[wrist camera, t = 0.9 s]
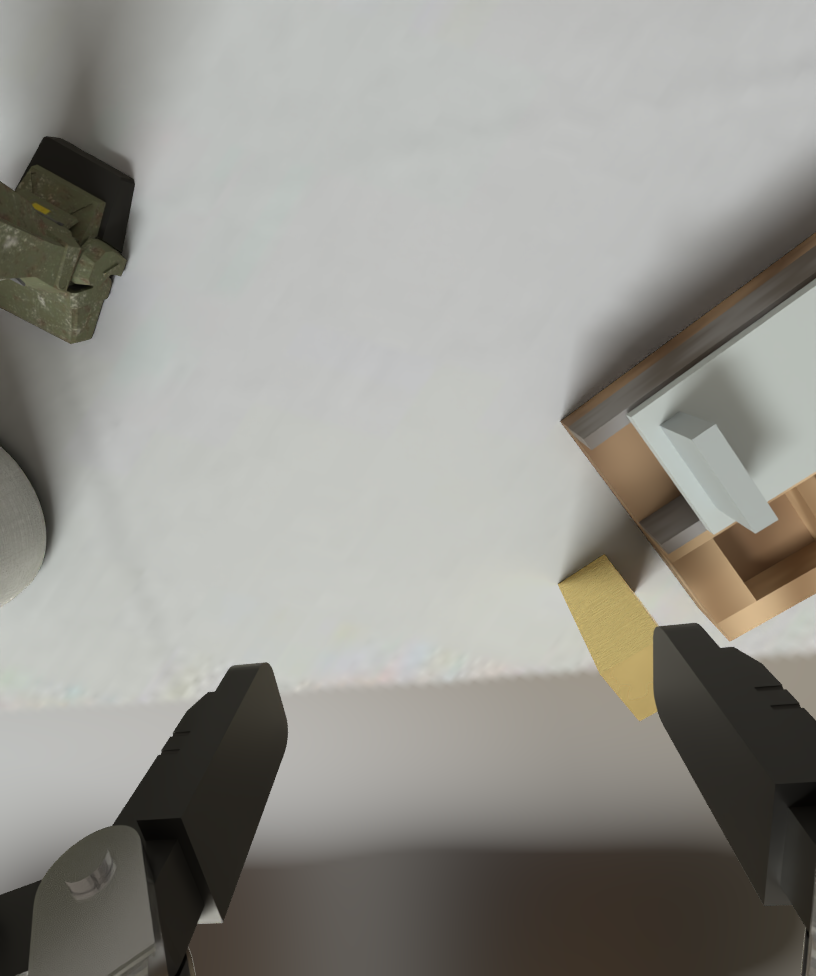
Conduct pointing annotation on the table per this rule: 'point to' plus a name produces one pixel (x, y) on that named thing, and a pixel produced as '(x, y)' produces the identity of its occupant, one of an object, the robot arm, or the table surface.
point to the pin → (615, 632)
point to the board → (660, 505)
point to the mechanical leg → (62, 239)
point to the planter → (18, 530)
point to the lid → (741, 419)
